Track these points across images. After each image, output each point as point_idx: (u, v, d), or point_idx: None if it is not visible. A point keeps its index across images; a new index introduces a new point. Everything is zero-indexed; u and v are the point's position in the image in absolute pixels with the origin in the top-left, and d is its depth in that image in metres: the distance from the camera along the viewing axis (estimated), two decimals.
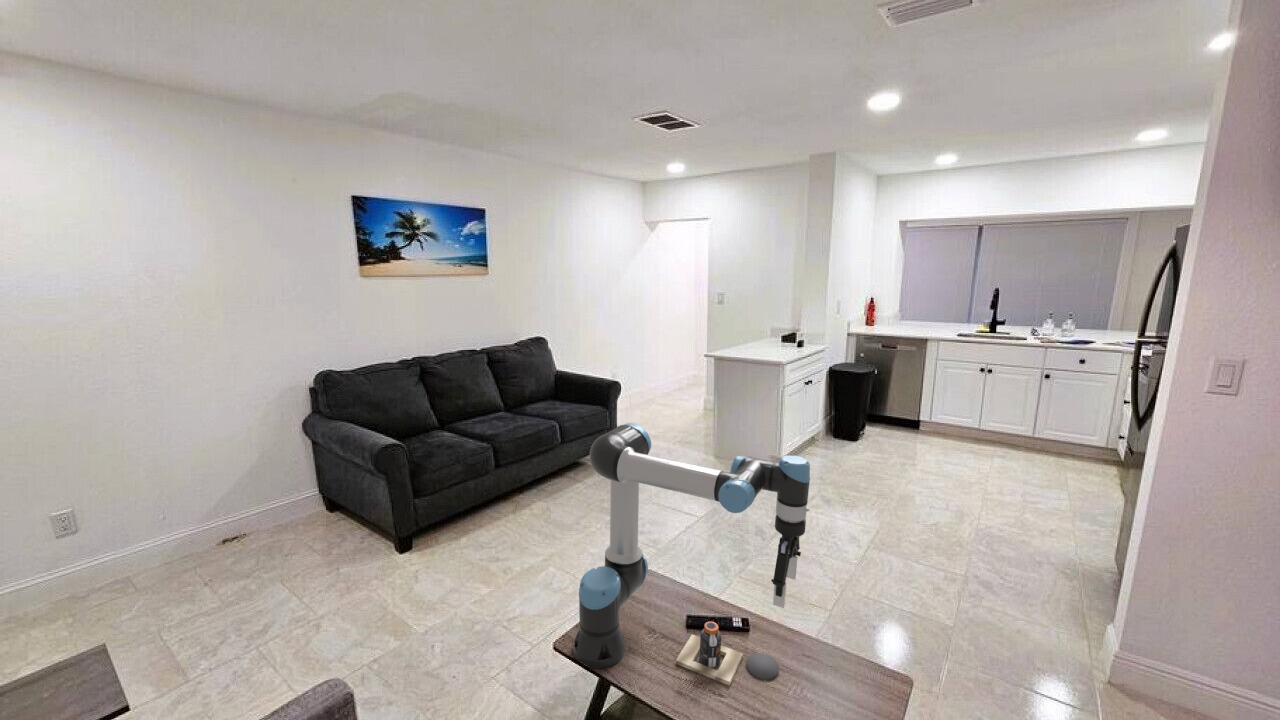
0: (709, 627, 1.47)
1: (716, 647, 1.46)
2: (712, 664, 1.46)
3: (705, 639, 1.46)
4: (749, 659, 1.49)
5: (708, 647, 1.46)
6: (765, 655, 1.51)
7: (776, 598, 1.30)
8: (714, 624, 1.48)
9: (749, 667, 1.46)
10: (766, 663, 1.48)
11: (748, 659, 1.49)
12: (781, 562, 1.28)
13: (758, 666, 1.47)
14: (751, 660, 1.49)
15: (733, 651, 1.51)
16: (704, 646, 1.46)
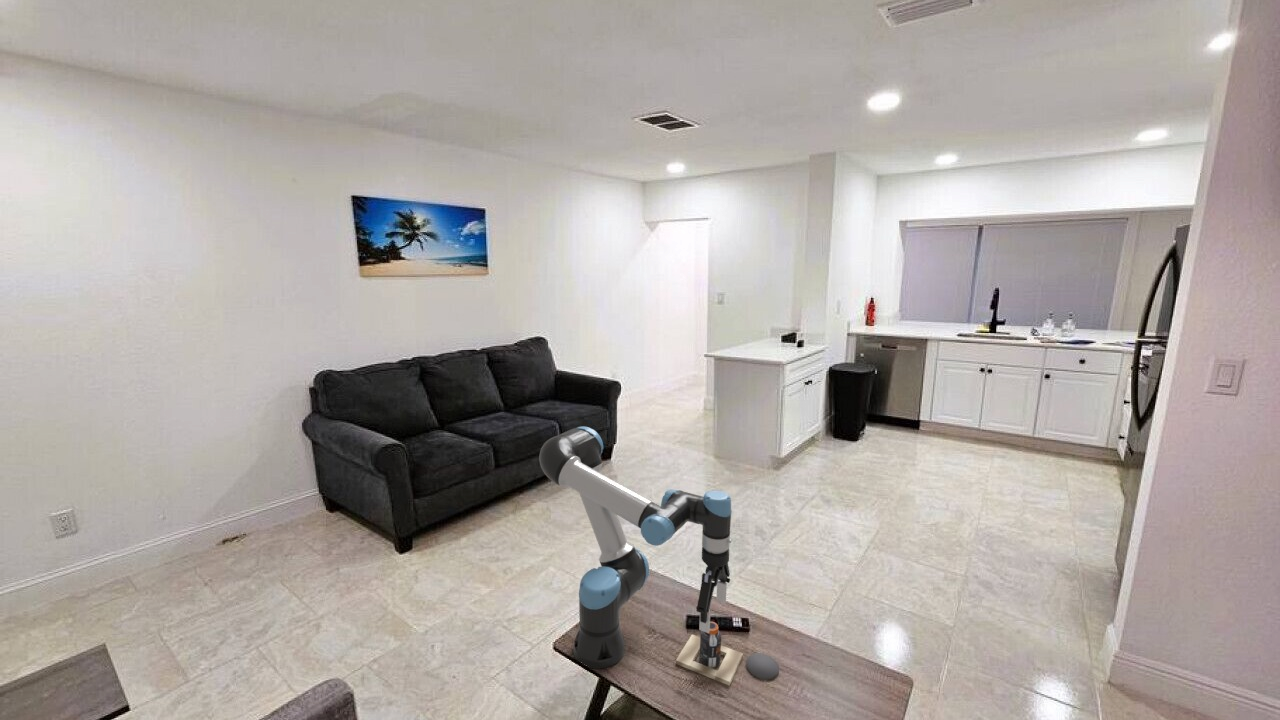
0: None
1: (716, 647, 1.46)
2: (712, 664, 1.46)
3: (705, 639, 1.46)
4: (749, 659, 1.49)
5: (708, 647, 1.46)
6: (765, 655, 1.51)
7: (702, 624, 1.40)
8: (714, 624, 1.48)
9: (749, 667, 1.46)
10: (766, 663, 1.48)
11: (748, 659, 1.49)
12: (704, 591, 1.38)
13: (758, 666, 1.47)
14: (751, 660, 1.49)
15: (733, 651, 1.51)
16: (704, 646, 1.46)
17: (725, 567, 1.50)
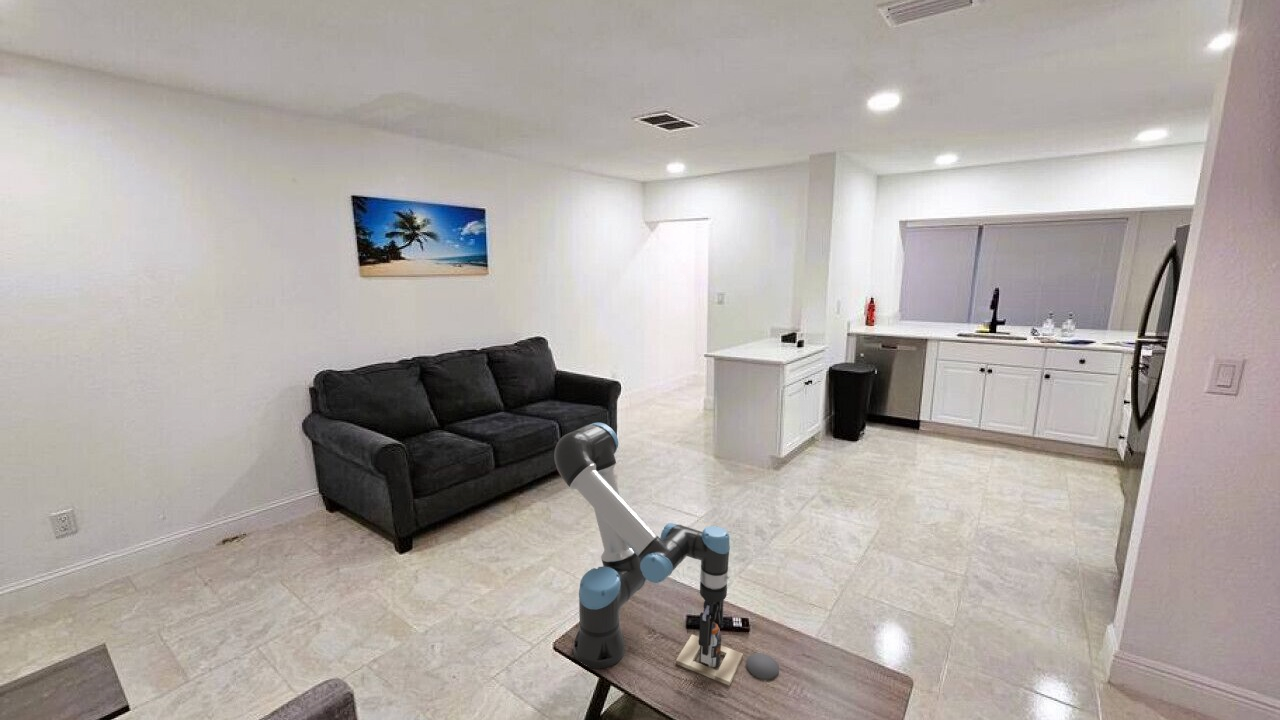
0: None
1: (716, 647, 1.46)
2: (712, 664, 1.46)
3: None
4: (749, 659, 1.49)
5: None
6: (765, 655, 1.51)
7: (703, 656, 1.46)
8: (714, 624, 1.48)
9: (749, 667, 1.46)
10: (766, 663, 1.48)
11: (748, 659, 1.49)
12: (704, 628, 1.41)
13: (758, 666, 1.47)
14: (751, 660, 1.49)
15: (733, 651, 1.51)
16: None
17: (720, 607, 1.51)
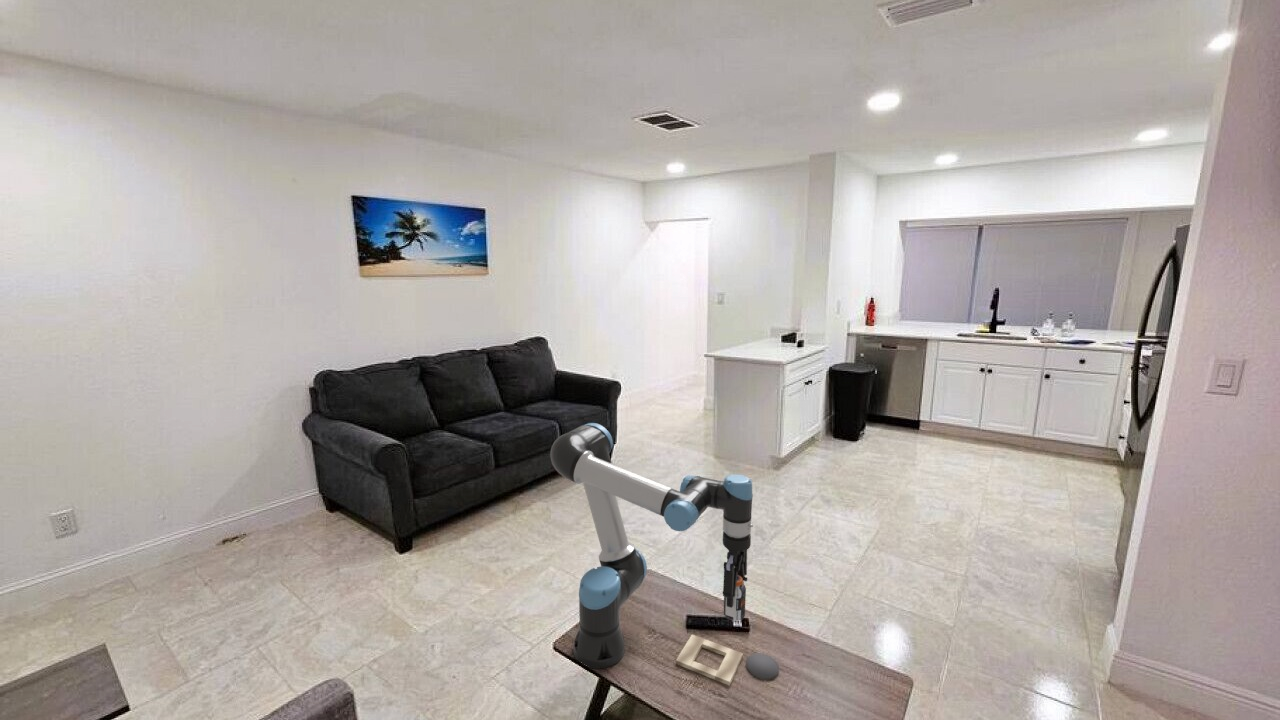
0: None
1: (741, 600, 1.42)
2: (737, 617, 1.42)
3: None
4: (749, 659, 1.49)
5: None
6: (765, 655, 1.51)
7: (728, 609, 1.42)
8: (738, 576, 1.44)
9: (749, 667, 1.46)
10: (766, 663, 1.48)
11: (748, 659, 1.49)
12: (728, 578, 1.37)
13: (758, 666, 1.47)
14: (751, 660, 1.49)
15: (733, 651, 1.51)
16: None
17: None
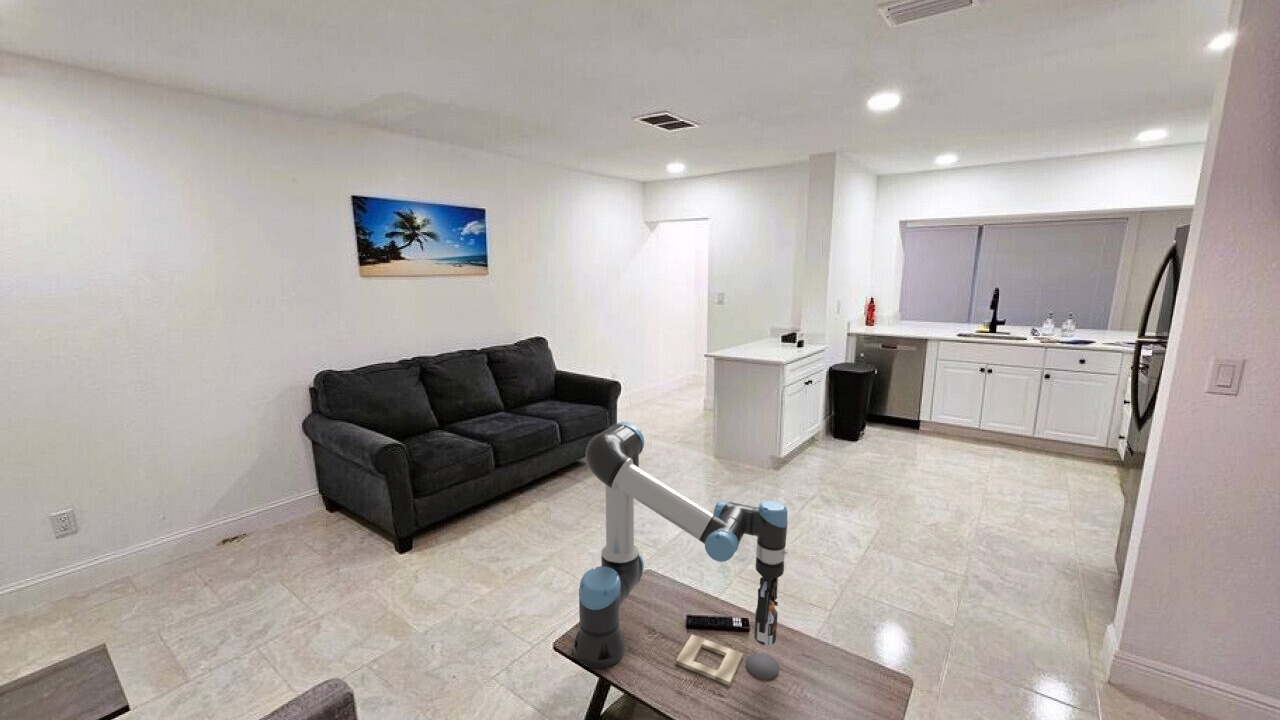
0: None
1: (773, 625, 1.42)
2: (769, 642, 1.43)
3: None
4: (749, 659, 1.49)
5: None
6: (765, 655, 1.51)
7: (759, 634, 1.42)
8: (770, 601, 1.44)
9: (749, 667, 1.46)
10: (766, 663, 1.48)
11: (748, 659, 1.49)
12: (762, 605, 1.38)
13: (758, 666, 1.47)
14: (751, 660, 1.49)
15: (733, 651, 1.51)
16: None
17: (775, 585, 1.47)
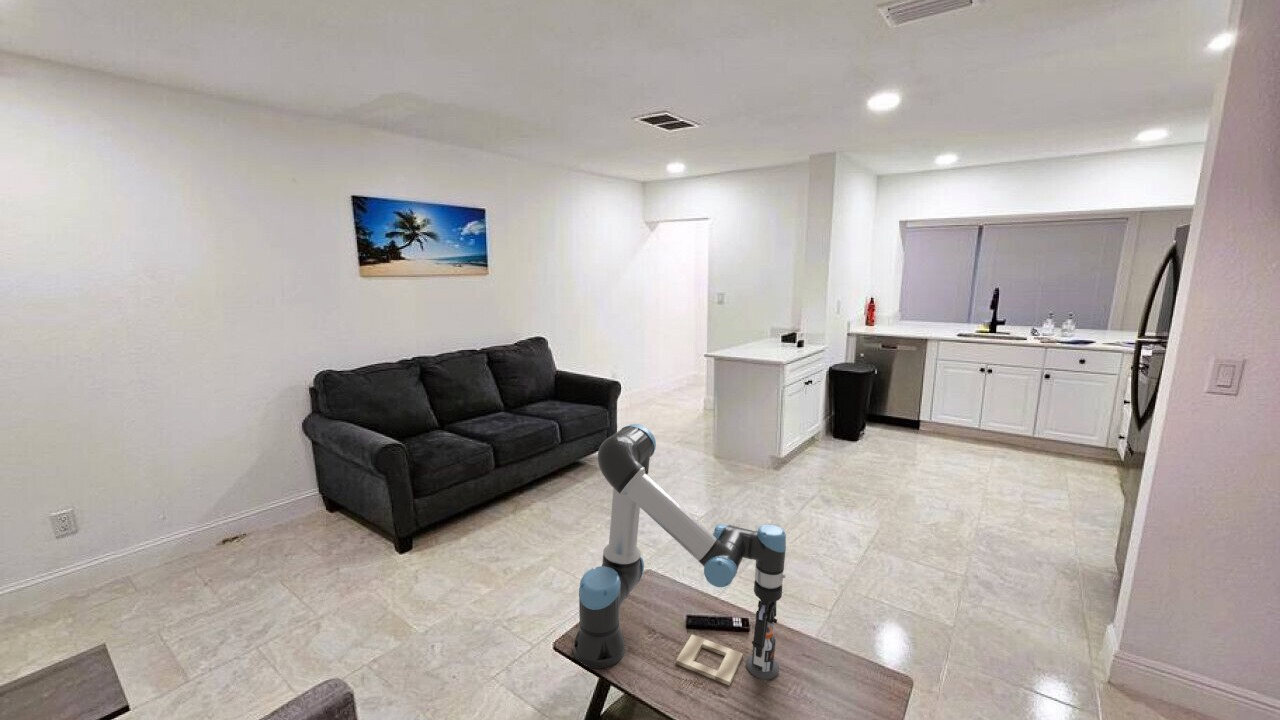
0: None
1: (771, 652, 1.43)
2: (766, 668, 1.44)
3: None
4: (749, 659, 1.49)
5: None
6: None
7: (756, 658, 1.42)
8: (768, 628, 1.46)
9: (749, 667, 1.46)
10: None
11: (748, 659, 1.49)
12: (759, 628, 1.38)
13: None
14: (751, 660, 1.49)
15: (733, 651, 1.51)
16: None
17: (774, 604, 1.49)
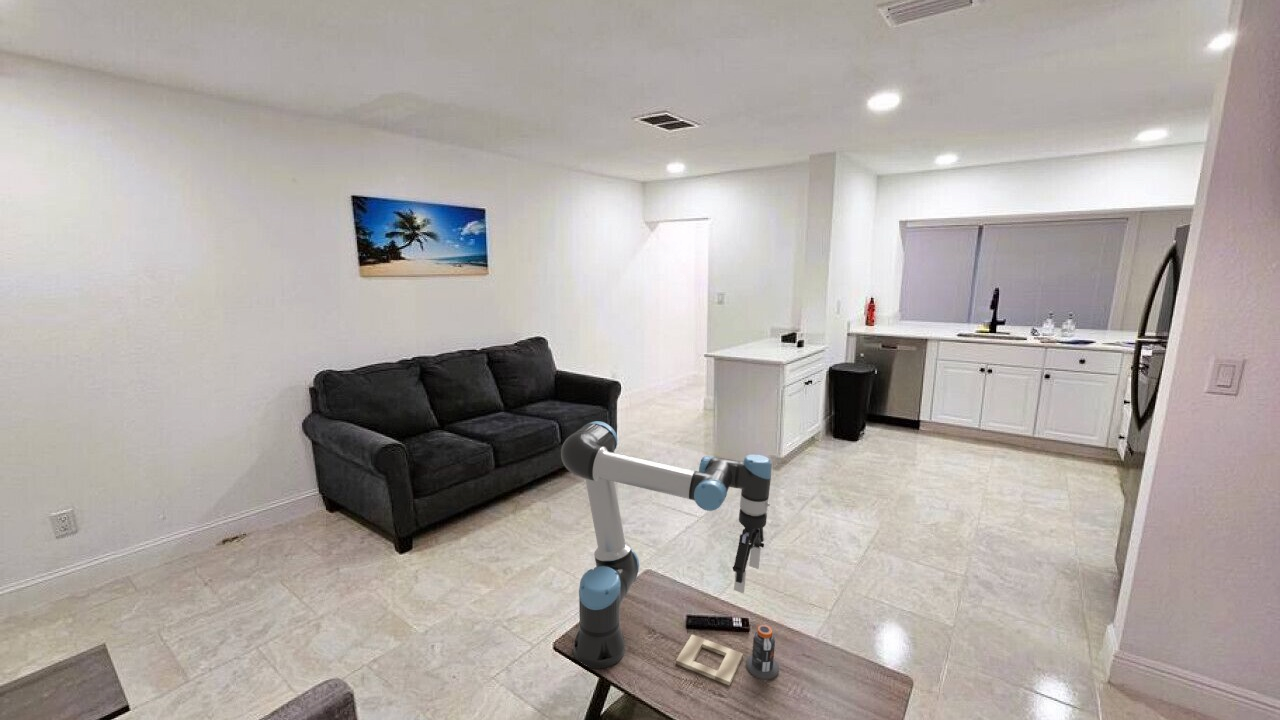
0: (762, 630, 1.45)
1: (770, 651, 1.44)
2: (766, 668, 1.44)
3: (759, 642, 1.44)
4: (749, 659, 1.49)
5: (762, 651, 1.43)
6: None
7: (737, 584, 1.42)
8: (767, 628, 1.46)
9: (749, 667, 1.46)
10: None
11: (748, 659, 1.49)
12: (741, 551, 1.40)
13: None
14: (751, 660, 1.49)
15: (733, 651, 1.51)
16: (758, 650, 1.44)
17: (760, 532, 1.52)
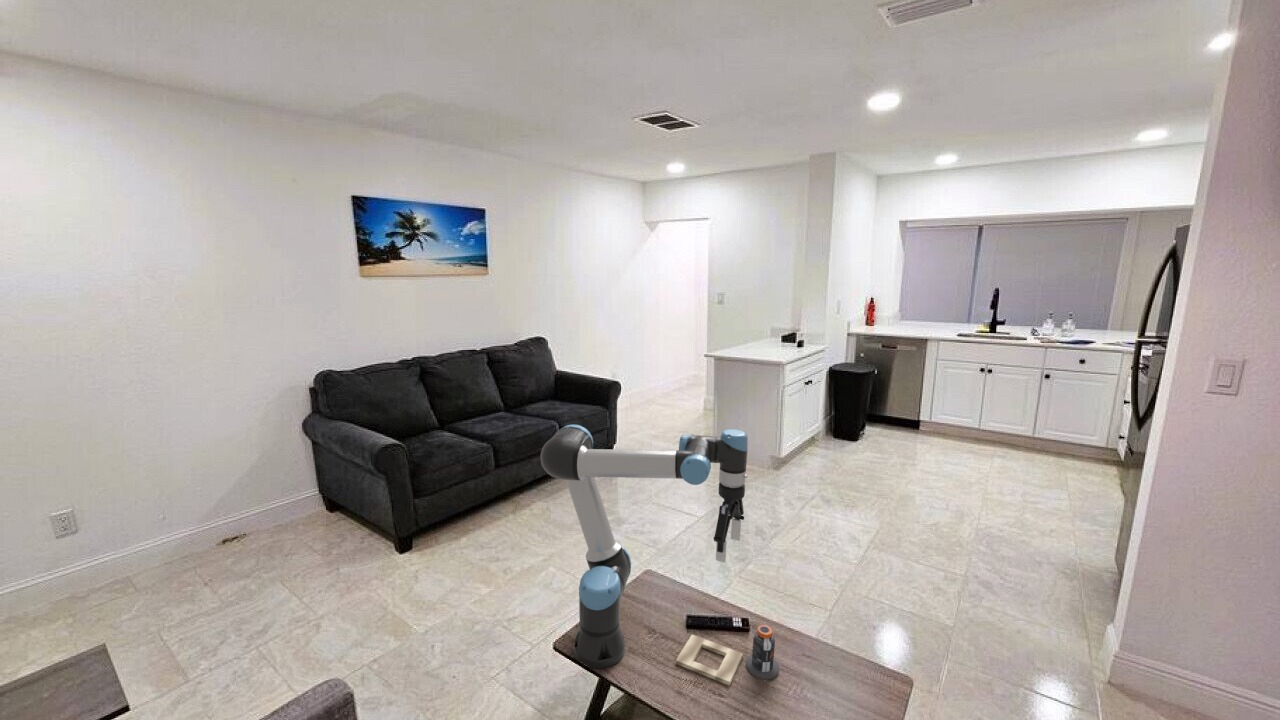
0: (762, 630, 1.45)
1: (770, 652, 1.44)
2: (766, 668, 1.44)
3: (759, 643, 1.44)
4: (749, 659, 1.49)
5: (762, 651, 1.43)
6: None
7: (718, 554, 1.48)
8: (767, 628, 1.46)
9: (749, 667, 1.46)
10: None
11: (748, 659, 1.49)
12: (721, 522, 1.46)
13: None
14: (751, 660, 1.49)
15: (733, 651, 1.51)
16: (758, 650, 1.44)
17: (740, 505, 1.58)
